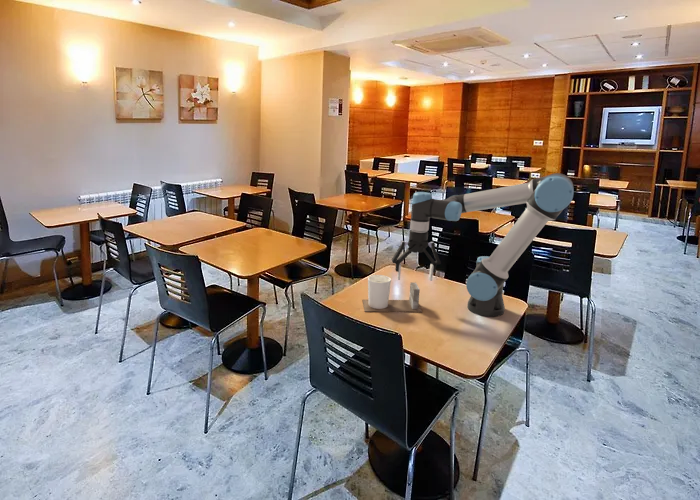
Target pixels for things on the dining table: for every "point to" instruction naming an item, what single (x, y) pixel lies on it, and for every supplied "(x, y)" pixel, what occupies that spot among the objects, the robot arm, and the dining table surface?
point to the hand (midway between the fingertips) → (414, 279)
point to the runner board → (400, 303)
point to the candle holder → (378, 291)
